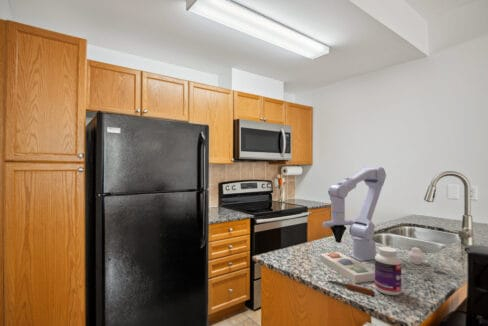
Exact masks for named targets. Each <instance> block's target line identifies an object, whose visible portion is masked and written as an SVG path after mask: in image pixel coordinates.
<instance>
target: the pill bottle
mask: <svg viewBox="0 0 488 326" xmlns="http://www.w3.org/2000/svg"><path fill="white" fill-rule="evenodd" d="M397 254H398V252H397V249H396V248H393V247H390V246H379V247H378V253H377V254H376V256H375V259H374V271H375V280H374V286H375V289H376V290H377V291H378V292H380V293H382V294H384V295H388V296H399V295H400V294H401V293H402V289H403V287H402V260H401V258H400V257H399V256H398V255H397Z"/></svg>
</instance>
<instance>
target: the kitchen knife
mask: <svg viewBox="0 0 488 326" xmlns="http://www.w3.org/2000/svg"><path fill="white" fill-rule="evenodd" d="M327 283H329V284H333V285H335V286H339V287H342V288H345V289H346V290H348V291H349V290H350V291H354V292H357V293H360V294H364V295H368V296H372V297H373V296H375V294H376V293H375V290H373V289H371V288H367V287H363V286H359V285H355V284H351V283H343V282H340V281H335V280H327Z"/></svg>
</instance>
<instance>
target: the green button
mask: <svg viewBox="0 0 488 326" xmlns="http://www.w3.org/2000/svg"><path fill="white" fill-rule="evenodd" d="M353 271H355V272H357V273H364V272H365V268H364V267H361V266H353Z"/></svg>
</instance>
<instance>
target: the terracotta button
mask: <svg viewBox="0 0 488 326" xmlns="http://www.w3.org/2000/svg"><path fill="white" fill-rule="evenodd" d="M329 253H330V254H329V257H331V258H333V259H334V258H340V255H339V254H337V253H336V252H329Z"/></svg>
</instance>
